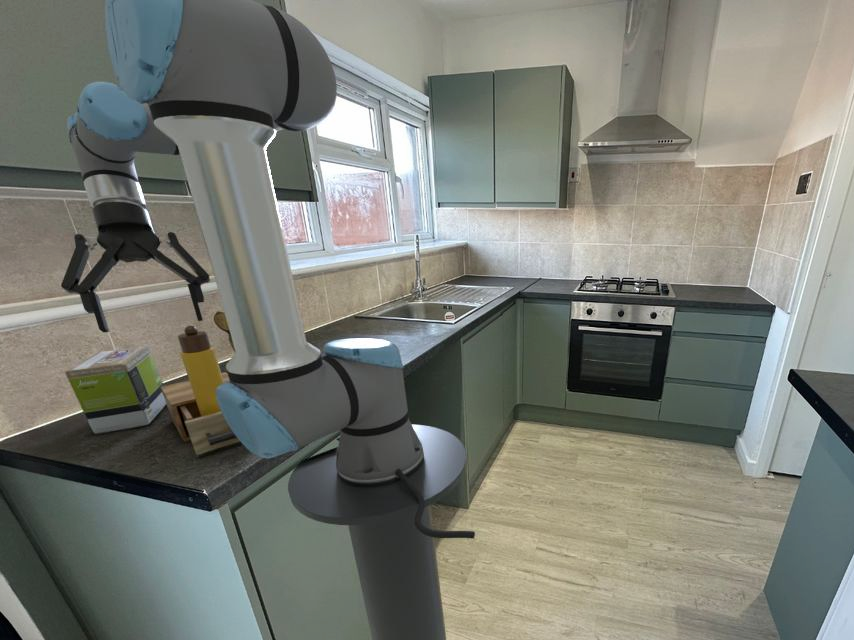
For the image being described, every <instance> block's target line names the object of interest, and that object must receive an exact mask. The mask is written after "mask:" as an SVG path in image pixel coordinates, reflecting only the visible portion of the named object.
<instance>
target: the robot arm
mask: <svg viewBox="0 0 854 640" xmlns="http://www.w3.org/2000/svg"><path fill="white" fill-rule="evenodd" d="M104 16H105V17H104V18H105V31H106V38H107V40H106V41H107V46H108V51H109V52H108V53H109V58H110V61H111V66H112V68H113V72H114V75H115V78H116V80H117V81H118V82H119V86H118V85H117V84H115V83H112V82H107V81H93V82H90V83H88V84H87V85H85V86H84V88H83V89H82V91H81V93H80V95H79V99H78V102H77V107H76V111H77V112H74V114H73V115H69V116H68V117H67V120H66V126H67V130H68V140H69V143H71V145H72V148H73V151H74V155H75V157H76V161H77V165H78V168H79V169H80V170H79V171H80V175H81V177H82V181H83V186H84V189H85V192H86V195H87V198H88V202H89V205H90V206H91V207H92V209H91V212H92V215H93V218H94V222H95V225H96V228H97V232H98V233H97V237H94V236H84V235H83V234H81V233H76V234H75V235H74V244H75V245H74V246H75V248H74V250H73V252H72V256H71V258H70V261H69V264H68V265H67V268H66V271H65V273H64V276H63V279H62V282H61V284H60V287H61V288H62V289H63V290H64V291H65V292H67V293H69V294H76V295H79V297H80V300H81V303H82V306H83V309H84V310H85V312H86V313H88V314H94V318H95V321H96V324H97V327H98V329H99V331H101V333H109V332H110V330H109V327H108V323H107V320H106V316H105V314H104V309H103V306H102V303H101V300H100V297H99V295H98V294H97V293H96V292H95V290H96V289H97V288H98V286H99V285H100V284H101V282H103V280H104V279H105V277H106V276H107V275H108V274H109V272H110V271H111V270H112V269H113V267H115V266H116V265H117V264H118V263H119V261H121V262H124V263H133V262H148V261H149V260H151V259H152V260H153V261H155V263H156V262H157V263H158V264H160V265H162V266H163V267H164V268H166V269H168V270H169V271H170V272H172V273H174V274H175V275H176V276H178V277H179V278H181V279H183V280H184V281H186V282H187V288H188V291H189V294H190V298H191V302H192V305H193V308H194V312H195V316H196V319H197V321H198V322H203V321H204V318H203V316H202V313H201V309H200V305H199V304H200V303H204V302H205V297H204V293H203V289H202V285H203V284H206V283H207V284H208V283H210V281H211V279H210V274H208V272H207V271H206V270H205V269H204V268H203V267H202V266H201V265H200V264H199V262H198V261H197V260H196V259H195V258H193V256H192V255H191V254H190V253H189V252H188V251H187V250H186V249H185V247H183V246H182V244H181V243H180V241H179V239H178V237H177V234H176V233H175V232H172V231H169V232H168V233H167V234H163V235H157V234H156V232H155V231H154V228H153V224H152V220H151V217H150V214H149V211H148V210H147V204H146V200H145V197H144V194H143V190H142V186H141V185H140V181H139V178H138V177H139V176H138V173H137V170H136V166H135V159H136V157H137V155H138V153H148V154H156V155H157V154H159V155H160V154H161V155H172V156H180V160H181V163H182V166H183V170H184V174H185V178H186V181H187V185H188V188H189V191H190V195H191V198H192V203H193V206H194V210H195V213H196V216H197V220H198V224H199V226H200V230H201V234H202V237H203V242H204V245H205V249H206V253H207V255H208V258H209V262H210V266H211V270H212V273H213V277H214V280H215V284H216V288H217V290H218V294H219V298H220V301H221V305H222V309H223V312H224V313H225V316H226V319H227V323H228V327H229V330H230V334H231V337H232V341H233V344H234V348H235V352H234V354H233V355H232V356H231V358H230V359H229V360H228V362H227V363H226V365H225V369H226V373H227V374H228V377H229V382H224V383H222V385H220V386H218V387H217V389H216V394H217V397H216V398H217V402H218V405H219V407H220V410H221V412H222V414H223V416H224V418H225V420H226V421H227V423H228V425H229V426H230V428H231V429H232V431H233V432H234V434H235V435H236V436H237V438H238V439H239V440H240V441H239V442H240V443H241V444H242V445H243V446H244V447H245V448H246V449H247V450H248V451H249V452H251V453H252V454H253V455H255V456H257V457H259V458H262V459H273V458H276V457H279V456H281V455H284V454H287V453H289V452H295V451H298V450H299V449H300V448H302V447H304V446H306V445H308V444H311V443H313V442H316V441H318V440H320V439H322V438H324V437H327V436H329V435H331V434H333V433H337V432H338V431H339V432H340V434H339V438H340V440H339V441H338V446H336V447H337V448H338V452H337V454H336V455H337V458H336V468H337V473H338V476H339V478H340V479H341V480H342V481H344V482H345V483H347V484H350V485H354V486H360V487H374V486H381V485H386V484H390V483H393V482H396V481H399V480H402V482H403V483H404V484H405V485H406V487H407V488H408V489H409V490H410V491H411V492H412V493H413V494H414V495H415V497H416V498H417V500H418V503H419V506H418V510H417V512H416V515H415V520H414V523H415V527H416V528H417V529H418V530H419V531H420V532H421V533H423V534H424V535H427V536H430V537H434V539H470V540H471V539H475V537H476V531H474V530H436V529H433V530H432V529H429V528H426V527H425V526H423V525H422V523H421V517H422V514H423V511H424V507H425V502H424V498H423V496H422V494H421V493H420V492H419V491H418V490H417V488H416V487H415V486H414V485H413V484H412V483H411V482H410V481H409V480H408V478H407V476H409V475H411V474H412V473H414V472H415V471H416V470H417V469H418V468H419V467H420V466H421V464H422V463H423V460H424V453H423V447H422V444H421V442H420V440H419V438H418V436H417V434H416V432H415V430H414V428H413V426H412V422H411V421H410V416H409V408H408V400H407V392H406V386H405V378H404V377H405V376H404V365H403V362H402V357H401V352H400V349H399V347H398V346H397V345H396V344H395V343H394V342H392V341H389V340H385V339H380V338H379V339H378V338H364V337H363V338H362V337H361V338H343V339H336V340H331V341H329V342H326V343H325V344H324V346H323V350H322V351H323V354H324V355H323V356H322V352H321V350H320V349H319V348H318V347H316V346H314V345H313V344H311V343H309V342H308V341H307V337H306V333H305V329H304V324H303V323H304V322H303V320H302V319H303V317H302V314H301V310H300V304H299V300H298V296H297V295H298V294H297V291H296V287H295V281H294V276H293V272H292V267H291V264H290V257H289V254H288V249H287V244H286V239H285V236H284V231H283V226H282V221H281V217H280V211H279V206H278V202H277V197H276V193H275V189H274V184H273V179H272V175H271V169H270V166H269V161H268V156H267V151H266V150H267V147H268V146H269V144H270V143H271V142H272V140H274V138H276V135H277V133H278V132H280V131H283V130H284V131H288V132H293V133H300V132H304V131H307V130H309V129H313V128H314V127H315V128H316V127H317V126H319V125H320V124H322V123H324V122H325V121H326V120H328V118H329V116H330V115H331V114H332V112H333V110H334V108H335V104H336V101H337V94H338V93H337V92H338V85H337V78H336V73H335V69H334V67H333V64H332V62H331V59H330V57H329V55H328V53H327V51H326V49H325V48H324V46H323V45H322V43H321V42H320V41H319V39H318V38H317V37H316V36H315V34H314V33H313V32H312V31H311V30H310V29H309V28H308V26H306V25H305V24H304V23H303V22H302V21H300V20H298V19H297V18H296V17H294V16H293V15H291V14H289V13H288V12H286V11H285V10H282V9H279V8H277V7H274V6H271V5H267V4H263V3H261V2H259V1H256V0H105V4H104ZM76 135H77V136H76ZM161 244H163V245H165V246H166V247H167V248H170V249H171V248H172V249H173V251H174V252H175V253H176V254H177V256H178V257H179V258H180V259H181V260H182V261H183V262H184V263H185V264H186V265H187V266H188V267H189V268H190V269H191V270H192V272H194V274H196V276H195V275H194V274H193V273H191V272H190V271H188V270H187V269H185V268H183V266H181V265H180V264H177V263H176V262H175V261H173V260H172V259H171V258H169V257H168V256H167V255H165V254H164V253H163V252H162V251H160V250H159V247H160V245H161ZM96 246H100V247H101V248H102V249H104V252H103V253H102V255H101V258H99V260H98V261H97V262H96V264H95V265H94V266H92V267H93V268H91V269H90V271H89V272H88V274H87V275H86V276H85V277H84V279H82V276H83V273H84V271H85V268H86V266H87V262H88V260H89V258H90V252H92V251H94V250H95V247H96ZM81 279H82V281H81Z"/></svg>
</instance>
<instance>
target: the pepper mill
mask: <svg viewBox="0 0 854 640" xmlns="http://www.w3.org/2000/svg"><path fill="white" fill-rule="evenodd" d="M177 339H178V343H179V345H180V348H181V351H180V352H179V354H180V357H181V360H182V363H183V366H184V369H185V372H186V375H187V378H188V381H190V384H191V387H192V390H193V393H194V396H195V399H196V402H197V405H198V408H199V411H200V414H201V417H202V416H205V415H209V414H213V413H216V412H220V411H221V410H220V407H219V405H218V402H217V398H216V397H217V394H216V389H217V387H218V386H220V385H222V383H224V380H223V377H222V374H221V373H222V371H221V367H220V365H219V364H220V363H219V360H218V358H217V353H216V350H215V348H214V346H212V345H211V343H210V339H209V336H208V333H207V332H206V331H199V330H198V328H197V327H196V326H194V325H187V326H185V328H184V333H181V334H179V335H177Z"/></svg>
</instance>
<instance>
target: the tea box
mask: <svg viewBox="0 0 854 640" xmlns="http://www.w3.org/2000/svg"><path fill="white" fill-rule="evenodd" d="M64 373H65V376H66V378H67V381H68V382H69V384H70V387H71V388H72V391H73V393H74V395H75V397H76V399H77V401H78V403H79V405H80V408H81V410H82V412H83V414H84V416H85V417H86V420H87V422H88V425H89V427H90V428H91V431H92V433H93V434H95V435H98V434H104V433H109V432H110V433H111V432H114V431H115V432H116V431H121V430H129V429H133V428H139V427H144V426H148V425H150V424H151V423H152V421H153V420H154V419H155V418H156V417H157V415H158V414H159V413H160V412H161V411H162V410H163V409H164V408H165V406H167V404H166V401H165V398H164V396H163V393H162V390H161V386H165V385H164V383H163V380H162V376H161V375H160V373H159V370H158V367H157V364H156V362H155V359H154V357H153V354H152V352H151V349H150V347H149V346H148V345H146V346H138V347H131V348H130V347H129V348H122V349H121V348H120V349H113V350H106V351H97V352H95V353H94V354H92V355H91V356H89V357H86V359H84V360H82V361H80V362H79V363H77V364H75V365H74V366H71V367H70V368H69V369H67V370H65V371H64Z"/></svg>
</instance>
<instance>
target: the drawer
mask: <svg viewBox="0 0 854 640" xmlns="http://www.w3.org/2000/svg"><path fill="white" fill-rule="evenodd" d="M178 407H179V409H180V412H181V415H182V418H183V421H184V424H185V427H186V429H187V431H188V433H189V436H190V439H191V440H190V442H191V444H192V447H193V451H194V454H195V455H196V456H198V455H202V454H205V453H208V452H211V451H215V450H218V449H220V448H223V447H227V446H231V445H233V444H237V443H238V442H241V441H240V440H239V439H238V438H237V436H236V435H235V434H234V432H233V431H232V429H231V428H230V426H229V425H228V423H227V421H226V420H225V418H224V416H223V414H222V412H221V411H220V412H216V413H213V414H209V415H205V416H202V417H201V414H200V411H199V408H198V405H197V402H192V403H188V404H184V405H180V406H178Z"/></svg>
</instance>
